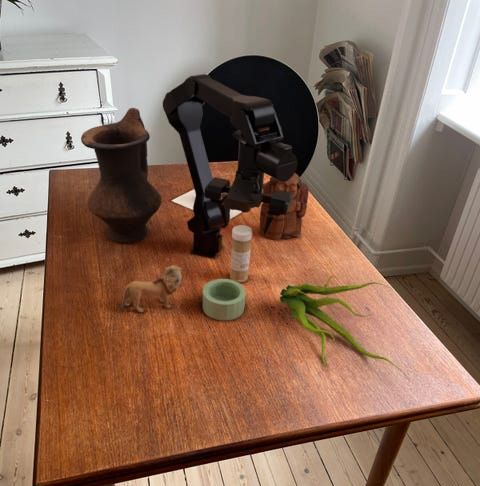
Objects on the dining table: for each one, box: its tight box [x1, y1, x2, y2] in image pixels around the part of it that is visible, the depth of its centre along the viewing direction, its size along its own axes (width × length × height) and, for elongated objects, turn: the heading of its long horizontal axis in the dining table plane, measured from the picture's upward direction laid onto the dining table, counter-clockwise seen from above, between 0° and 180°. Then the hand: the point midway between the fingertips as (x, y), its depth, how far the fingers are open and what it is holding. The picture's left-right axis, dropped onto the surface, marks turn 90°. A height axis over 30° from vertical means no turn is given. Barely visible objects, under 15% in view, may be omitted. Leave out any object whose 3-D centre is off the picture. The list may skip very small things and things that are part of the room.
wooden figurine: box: [259, 172, 310, 241], centre depth 133 cm, size 12×6×18 cm, turn 101°
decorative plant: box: [279, 275, 410, 380], centre depth 101 cm, size 18×30×15 cm, turn 13°
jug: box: [80, 107, 163, 244], centre depth 125 cm, size 21×18×30 cm
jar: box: [201, 278, 247, 321], centre depth 111 cm, size 9×9×4 cm
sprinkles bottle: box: [229, 224, 253, 283], centre depth 117 cm, size 5×5×13 cm
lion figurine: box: [117, 264, 183, 313], centre depth 108 cm, size 15×5×9 cm, turn 116°
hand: (245, 229), depth 114 cm, fingers open, 9 cm apart
